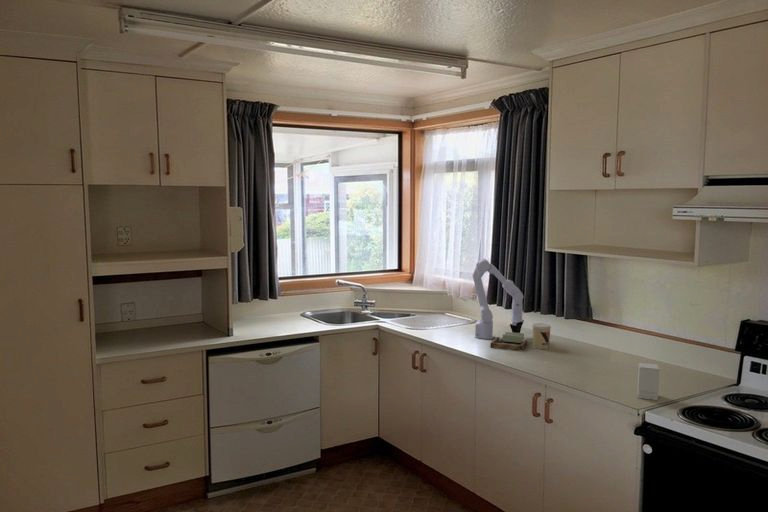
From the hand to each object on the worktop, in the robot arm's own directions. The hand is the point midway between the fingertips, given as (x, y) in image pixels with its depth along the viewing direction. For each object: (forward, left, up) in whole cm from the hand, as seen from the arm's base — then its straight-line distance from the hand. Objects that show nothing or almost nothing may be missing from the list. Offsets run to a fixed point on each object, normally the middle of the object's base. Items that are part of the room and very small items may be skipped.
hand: (516, 335), depth 340 cm
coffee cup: (+16, -15, -2) cm, 22 cm away
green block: (0, -9, -2) cm, 9 cm away
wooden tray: (0, -19, -2) cm, 19 cm away
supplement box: (+68, -78, -2) cm, 104 cm away
